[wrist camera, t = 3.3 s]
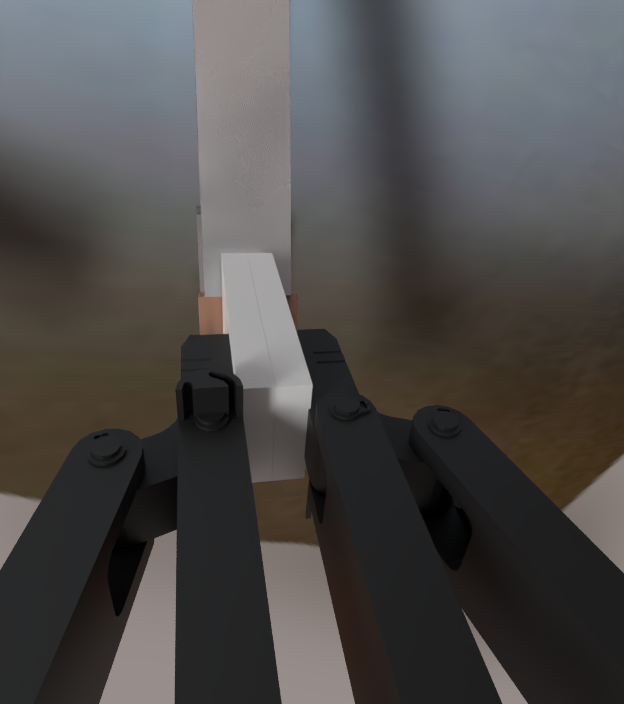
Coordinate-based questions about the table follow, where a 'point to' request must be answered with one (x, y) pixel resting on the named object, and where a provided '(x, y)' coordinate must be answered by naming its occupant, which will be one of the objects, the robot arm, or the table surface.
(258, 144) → the bar
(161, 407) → the table surface
